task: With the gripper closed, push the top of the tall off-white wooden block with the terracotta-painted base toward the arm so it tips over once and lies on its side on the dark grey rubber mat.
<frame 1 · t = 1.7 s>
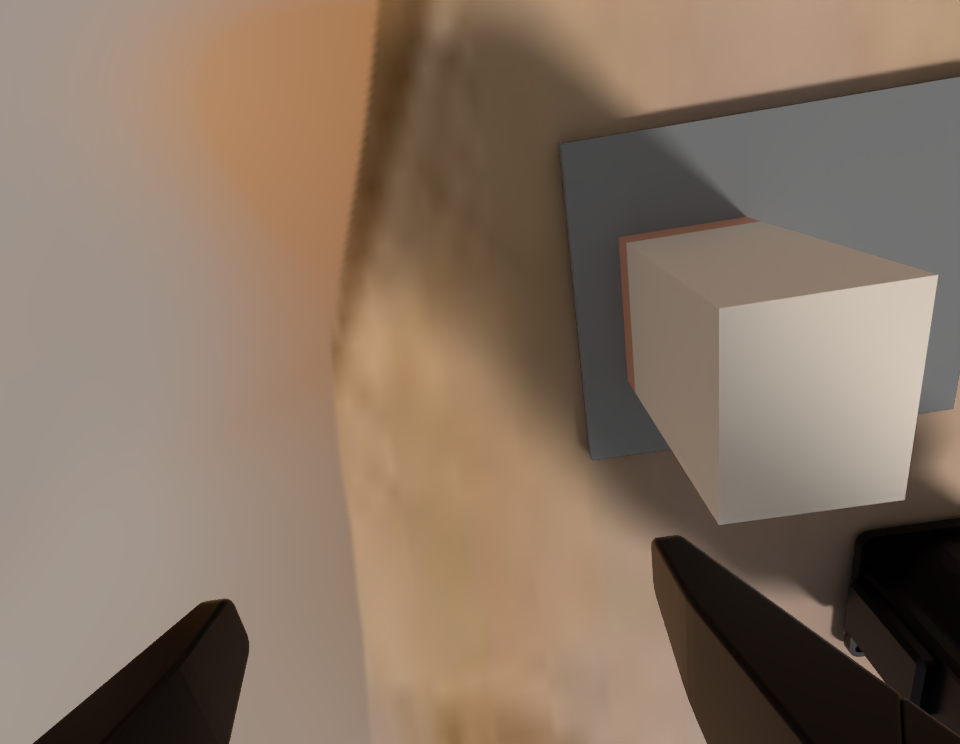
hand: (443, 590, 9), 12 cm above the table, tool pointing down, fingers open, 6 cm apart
rubber mat: (768, 285, 19), on the table
tall block: (683, 303, 19), resting on rubber mat
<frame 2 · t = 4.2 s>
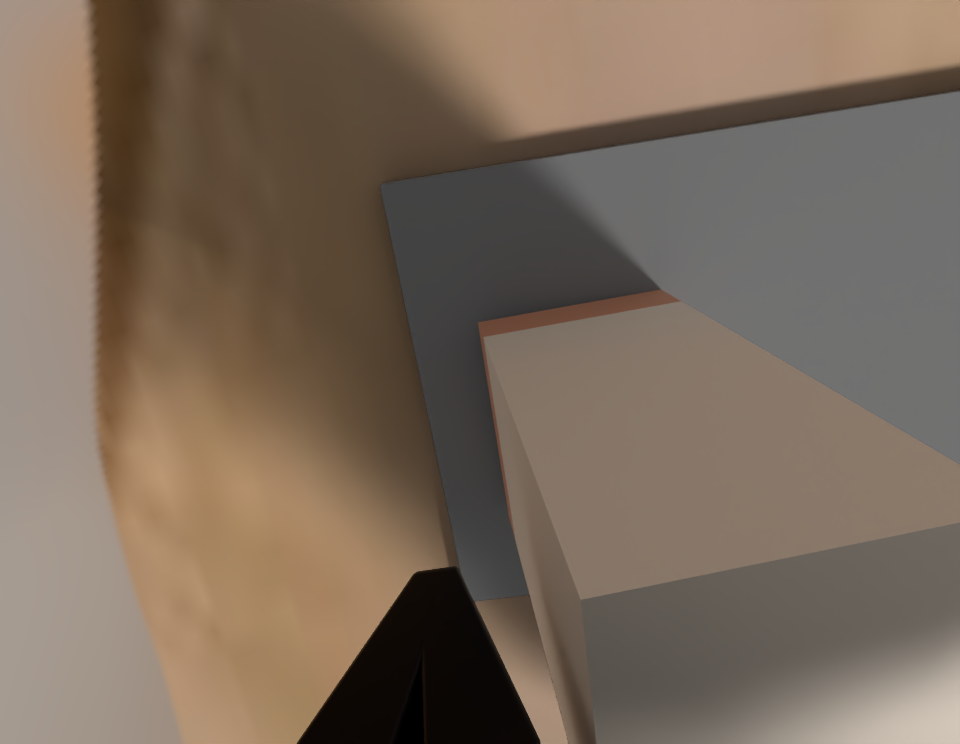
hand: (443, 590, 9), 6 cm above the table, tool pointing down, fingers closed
rubber mat: (700, 379, 14), on the table
tall block: (579, 409, 13), point 1 cm above the table, tilted 6°, touching gripper, rubber mat
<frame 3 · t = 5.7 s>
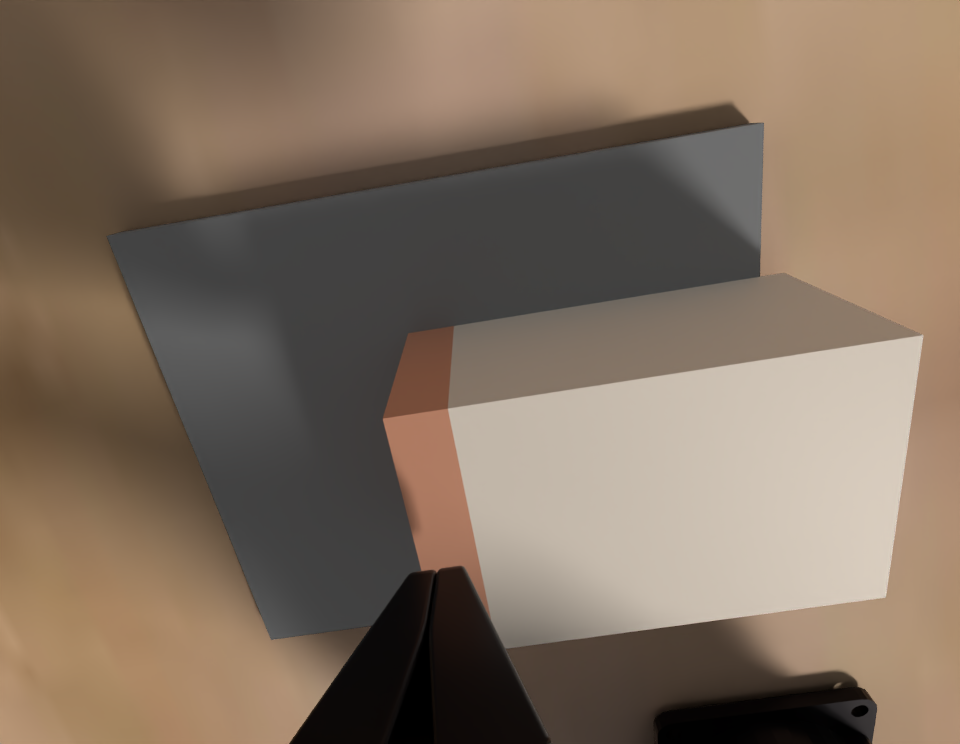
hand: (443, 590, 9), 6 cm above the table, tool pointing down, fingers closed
rubber mat: (473, 417, 14), on the table
tall block: (424, 482, 12), point 2 cm above the table, tilted 90°, touching rubber mat
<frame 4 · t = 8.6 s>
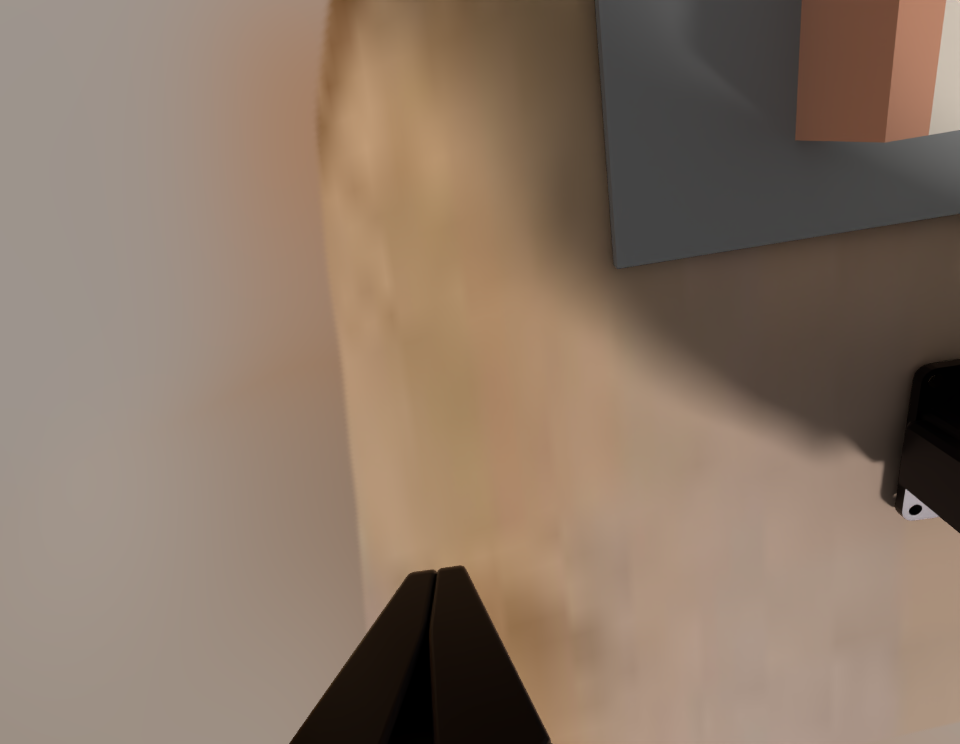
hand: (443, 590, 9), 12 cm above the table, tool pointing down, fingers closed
rubber mat: (825, 41, 17), on the table
tall block: (842, 34, 14), point 2 cm above the table, tilted 90°, touching rubber mat
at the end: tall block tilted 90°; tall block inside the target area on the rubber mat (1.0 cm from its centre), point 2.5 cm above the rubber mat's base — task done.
